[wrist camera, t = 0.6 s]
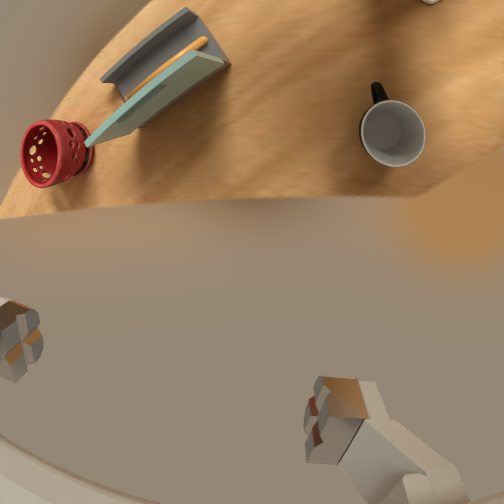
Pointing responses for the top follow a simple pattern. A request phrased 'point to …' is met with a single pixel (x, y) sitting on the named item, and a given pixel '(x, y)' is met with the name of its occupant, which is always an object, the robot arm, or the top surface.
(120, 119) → the lid
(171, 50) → the grey rectangular box
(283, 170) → the top surface
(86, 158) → the plant pot
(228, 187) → the top surface
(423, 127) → the mug
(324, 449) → the robot arm
